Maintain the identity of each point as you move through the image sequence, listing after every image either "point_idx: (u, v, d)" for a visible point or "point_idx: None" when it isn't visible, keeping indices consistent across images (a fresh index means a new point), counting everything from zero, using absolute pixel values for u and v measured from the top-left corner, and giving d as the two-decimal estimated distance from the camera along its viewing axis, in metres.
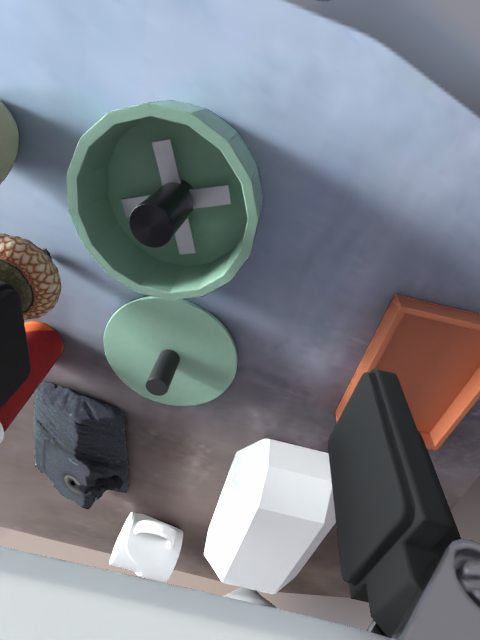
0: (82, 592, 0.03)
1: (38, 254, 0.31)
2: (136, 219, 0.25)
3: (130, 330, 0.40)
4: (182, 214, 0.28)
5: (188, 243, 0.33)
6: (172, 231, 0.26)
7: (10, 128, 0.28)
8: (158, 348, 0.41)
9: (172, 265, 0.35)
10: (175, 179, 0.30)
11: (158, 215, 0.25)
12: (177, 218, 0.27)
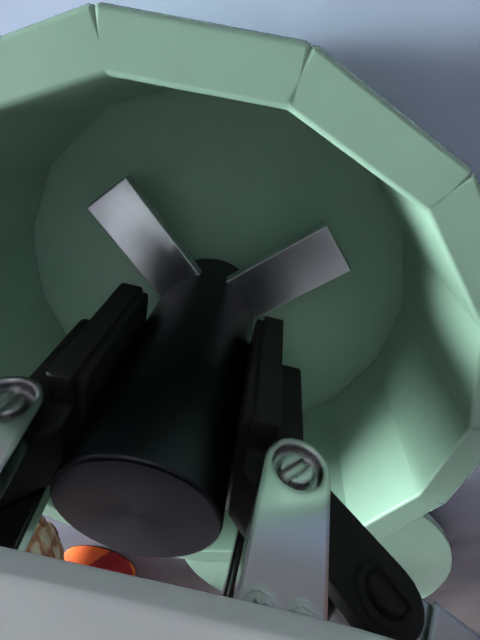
0: (82, 593, 0.03)
1: None
2: (78, 507, 0.07)
3: None
4: (232, 383, 0.08)
5: None
6: (217, 509, 0.06)
7: None
8: None
9: None
10: (183, 270, 0.11)
11: (142, 483, 0.06)
12: (219, 430, 0.07)
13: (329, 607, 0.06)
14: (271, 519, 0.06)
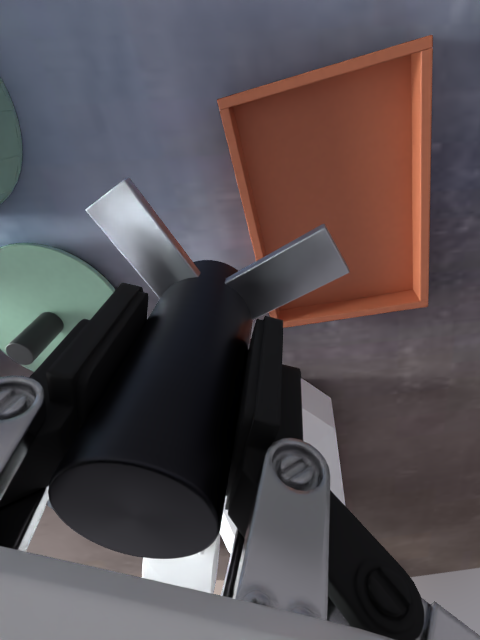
0: (82, 592, 0.03)
1: None
2: (76, 509, 0.07)
3: None
4: (230, 385, 0.08)
5: None
6: (215, 511, 0.06)
7: None
8: (34, 316, 0.35)
9: None
10: (182, 272, 0.11)
11: (140, 485, 0.06)
12: (218, 432, 0.07)
13: (329, 607, 0.06)
14: (271, 519, 0.06)
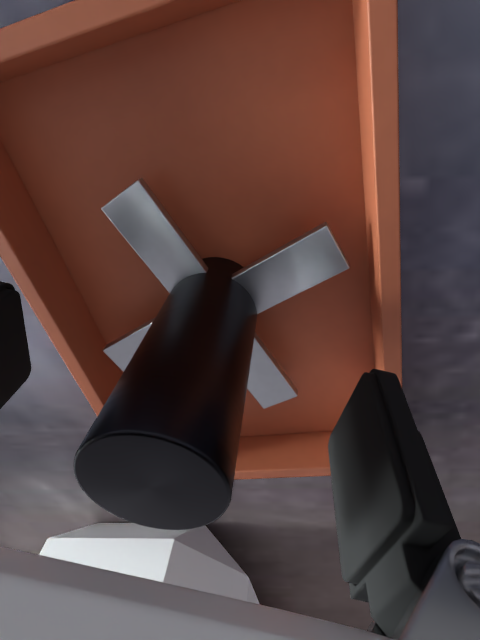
0: (82, 592, 0.03)
1: None
2: (99, 481, 0.07)
3: None
4: (238, 371, 0.09)
5: (274, 383, 0.14)
6: (226, 482, 0.07)
7: None
8: None
9: None
10: (191, 267, 0.12)
11: (159, 457, 0.07)
12: (228, 412, 0.08)
13: None
14: None
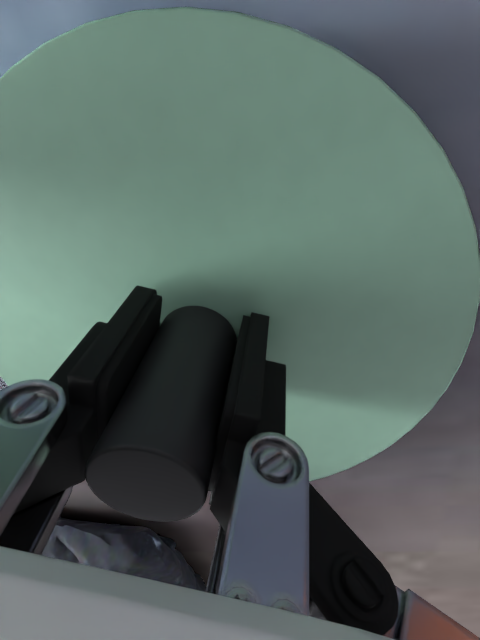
0: (82, 592, 0.03)
1: None
2: None
3: (25, 290, 0.11)
4: None
5: None
6: None
7: None
8: None
9: None
10: None
11: None
12: None
13: None
14: (246, 511, 0.06)
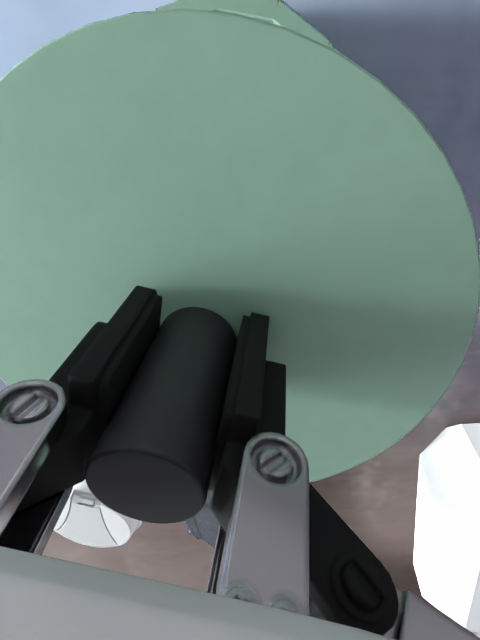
0: (82, 592, 0.03)
1: None
2: None
3: (26, 292, 0.11)
4: None
5: None
6: None
7: None
8: None
9: None
10: None
11: None
12: None
13: None
14: (246, 511, 0.06)
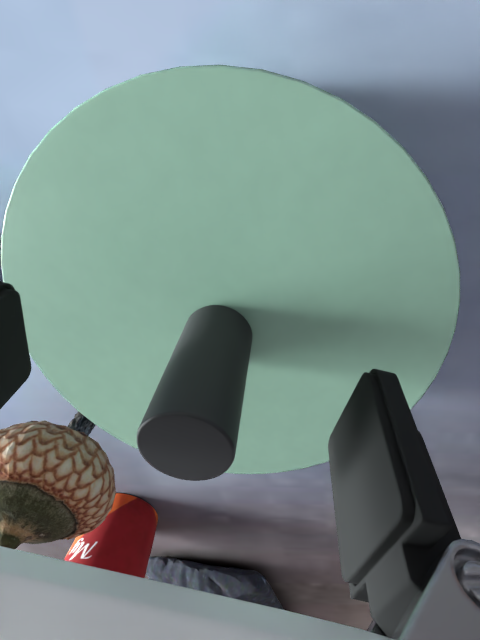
0: (82, 592, 0.03)
1: (56, 445, 0.19)
2: None
3: (69, 291, 0.13)
4: None
5: None
6: None
7: None
8: (173, 317, 0.13)
9: None
10: None
11: None
12: None
13: None
14: None
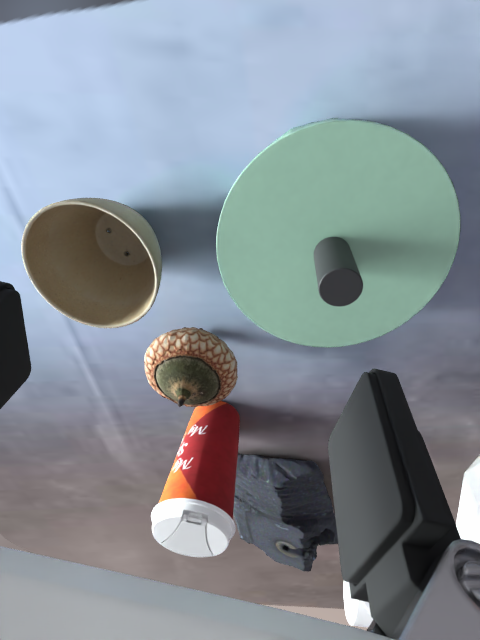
0: (82, 592, 0.03)
1: (209, 337, 0.30)
2: None
3: (254, 230, 0.24)
4: None
5: None
6: None
7: (151, 229, 0.28)
8: (308, 244, 0.24)
9: None
10: None
11: None
12: None
13: None
14: None
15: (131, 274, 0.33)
